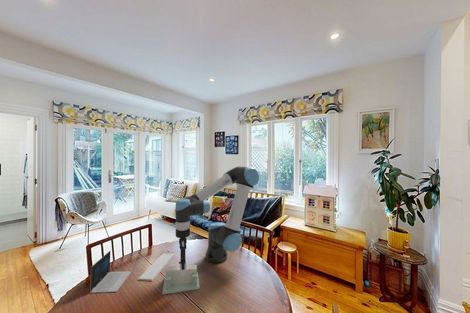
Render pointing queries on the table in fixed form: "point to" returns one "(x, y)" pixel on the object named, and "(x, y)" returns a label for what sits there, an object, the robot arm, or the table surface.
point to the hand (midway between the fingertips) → (182, 267)
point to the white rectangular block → (175, 274)
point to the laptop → (106, 276)
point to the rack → (181, 285)
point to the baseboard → (156, 267)
